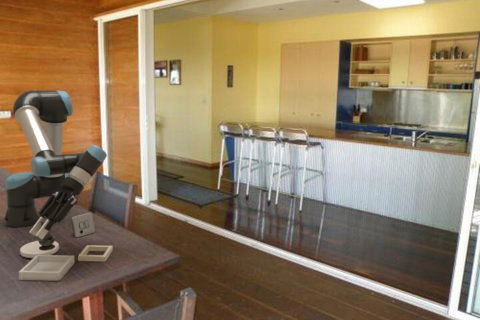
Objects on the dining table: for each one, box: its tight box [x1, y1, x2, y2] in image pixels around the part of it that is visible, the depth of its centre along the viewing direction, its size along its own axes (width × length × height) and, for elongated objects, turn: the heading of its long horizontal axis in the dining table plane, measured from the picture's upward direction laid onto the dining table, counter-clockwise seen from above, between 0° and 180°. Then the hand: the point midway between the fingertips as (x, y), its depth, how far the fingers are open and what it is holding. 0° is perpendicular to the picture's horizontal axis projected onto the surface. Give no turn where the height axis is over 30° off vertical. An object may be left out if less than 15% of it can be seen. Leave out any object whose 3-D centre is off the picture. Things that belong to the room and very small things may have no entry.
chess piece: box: [37, 216, 56, 251], centre depth 147 cm, size 6×6×12 cm
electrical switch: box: [70, 212, 96, 238], centre depth 185 cm, size 9×5×9 cm, turn 141°
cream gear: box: [19, 240, 60, 259], centre depth 165 cm, size 14×14×2 cm
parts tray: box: [18, 254, 75, 282], centre depth 150 cm, size 14×14×3 cm
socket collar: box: [77, 244, 114, 262], centre depth 164 cm, size 10×10×2 cm
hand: (35, 235), depth 144 cm, fingers closed on chess piece, 4 cm apart
